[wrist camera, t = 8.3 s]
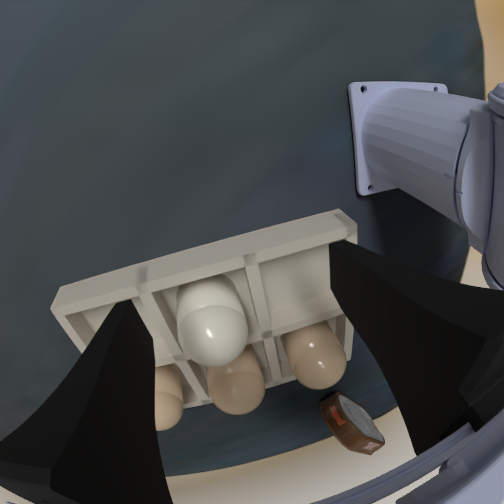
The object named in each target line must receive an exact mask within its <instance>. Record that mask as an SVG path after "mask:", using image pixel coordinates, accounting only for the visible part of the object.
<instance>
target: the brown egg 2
mask: <svg viewBox="0 0 504 504" xmlns="http://www.w3.org/2000/svg"><path fill="white" fill-rule="evenodd" d="M280 340H281V343H282V346H283V348H284V351H285V353H286V356H287V358H288V361H289V363H290V366H291V368H292V370H293V373H294V375H295V377H296V378H297V380H298V381H299V382H300V383H301V384H302V385H304V386H306V387H308V388H311V389H317V390H319V389H326V388H329V387H331V386H333V385H334V384H336V383H337V382H338V381H339V380H340V379H341V377H342V376H343V374H344V372H345V369H346V364H347V359H346V354H345V351H344V349H343V348H342V346H341V344H340V343H339V341H338V339H337V337H336V336H335V334H334V332H333V331H332V329H331V327H330V326H329V324H328V322H327V321H326V320H324V321H321V322H318V323H315V324H312V325H309V326H306V327H303V328H300V329H297V330H294V331H291V332H287V333H284V334H281V337H280Z"/></svg>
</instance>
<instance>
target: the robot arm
mask: <svg viewBox="0 0 504 504" xmlns="http://www.w3.org/2000/svg"><path fill="white" fill-rule="evenodd" d="M361 86H363V88H364V91H363V93H362V92H361V90H360V89H361ZM434 88H435V91H434ZM348 93H349V101H350V109H351V118H352V128H353V139H354V151H355V166H356V185H357V192H358V193H359V194H360V195H362V196H365V195H370V194H374V193H378V192H382V191H387V190H391V189H395V188H399V189H401V190H403V191H405V192H406V193H408V194H410V195H412V196H413V197H415V198H417V199H418V200H420V201H422V202H423V203H425V204H427V205H428V206H430V207H432V208H433V209H435V210H437V211H438V212H440V213H441V214H443V215H445V216H446V217H448V218H449V219H451V220H452V221H454V222H455V223H457V224H458V225H460V226H461V227H463V228H464V229H466V230H467V232H468V236H469V242H468V243H469V245H470V246H472V247H473V248H474V249H476V250H477V251H479V252H480V253H481V254H482V262H481V263H482V271H483V275H484V278H485V280H486V282H487V284H488V286H489V287H490V289H489V288H481V287H475V286H470V285H466V284H461V283H457V282H452V281H449V280H445V279H441V278H438V277H435V276H432V275H429V274H425V273H423V272H420V271H417V270H414V269H412V268H409V267H407V266H404V265H402V264H399V263H397V262H394V261H392V260H390V259H388V258H385V257H383V256H381V255H379V254H376V253H374V252H372V251H370V250H368V249H365V248H363V247H361V246H359V245H356V244H354V243H352V242H349V241H347V240H344V239H343V240H340V241H336V242H333V243H330V244H328V245H329V266H330V289H331V291H332V293H333V295H334V297H335V298H336V300H337V302H338V304H339V306H340V308H341V310H342V311H343V313H344V314H345V316H346V317H347V318H348V320H349V321H350V323H351V324H352V326H353V327H354V328H355V330H356V331H357V333H358V334H359V335H360V337H361V338H362V340H363V341H364V343H365V344H366V345H367V347H368V348H369V350H370V351H371V353H372V354H373V356H374V358H375V359H376V361H377V363H378V365H379V367H380V368H381V370H382V372H383V374H384V376H385V378H386V380H387V382H388V384H389V387H390V389H391V391H392V393H393V395H394V397H395V400H396V402H397V404H398V407H399V409H400V411H401V414H402V417H403V419H404V422H405V424H406V427H407V430H408V433H409V436H410V439H411V442H412V445H413V448H414V451H415V453H416V455H417V457H415V458H413V459H412V460H410V461H408V462H406V463H404V464H403V465H401V466H399V467H397V468H395V469H393V470H391V471H389V472H387V473H385V474H383V475H381V476H379V477H377V478H375V479H373V480H370V481H368V482H366V483H364V484H361V485H359V486H357V487H354V488H352V489H350V490H347V491H345V492H342V493H339V494H337V495H334V496H331V497H329V498H326V499H323V500H320V501H317V502H314V503H311V504H372V503H374V502H376V501H378V500H380V499H382V498H385V497H386V496H389V495H390V494H392V493H394V492H396V491H398V490H400V489H402V488H404V487H406V486H408V485H409V484H411V483H413V482H415V481H416V480H418V479H420V478H422V477H423V476H425V475H426V474H428V473H430V472H431V471H433V470H434V469H436V468H437V467H439V466H441V467H440V469H439V474H438V475H436V476H435V477H433V478H432V479H430V480H429V481H427V482H425V483H424V484H422V485H420V486H419V487H417V488H415V489H414V490H413V491H411V492H410V493H408V494H406V495H405V496H403V497H401V498H399V499H398V500H396V504H501V503H502V502H503V501H504V83H499V84H498V85H497V86H496V87H495V88H494V90H492V91H490V92H489V93H488V101H489V102H487V101H482V100H478V99H473V98H468V97H463V96H458V95H453V94H448V91H447V87H446V86H445V85H444V84H437V83H421V82H353V83H351V84H350V85H349V87H348ZM369 185H371V187H370V189H368V186H369ZM0 486H2V487H3V488H5V489H7V490H9V491H10V492H12V493H14V494H16V495H18V496H20V497H22V498H24V499H26V500H28V501H30V502H32V503H35V504H173V502H172V499H171V496H170V492H169V490H168V486H167V482H166V478H165V474H164V470H163V465H162V461H161V456H160V451H159V445H158V439H157V432H156V424H155V353H154V343H153V337H152V336H151V334H150V332H149V331H148V329H147V327H146V325H145V324H144V322H143V320H142V318H141V316H140V315H139V313H138V311H137V309H136V307H135V305H134V304H133V302H132V300H131V299H129V300H125V301H121V302H117V303H116V304H115V305H114V306H113V308H112V309H111V311H110V312H109V313H108V315H107V316H106V318H105V320H104V321H103V323H102V324H101V326H100V327H99V329H98V330H97V332H96V334H95V335H94V337H93V338H92V340H91V341H90V343H89V344H88V346H87V347H86V349H85V350H84V352H83V353H82V355H81V356H80V358H79V359H78V361H77V362H76V364H75V365H74V367H73V368H72V369H71V371H70V372H69V373H68V375H67V376H66V377H65V379H64V380H63V381H62V382H61V384H60V385H59V386H58V387H57V389H56V390H55V391H54V392H53V393H52V394H51V395H50V396H49V397H48V399H47V400H46V401H45V402H44V403H43V404H42V405H41V406H40V407H39V409H38V410H37V411H36V412H34V413H33V414H32V415H31V416H30V417H29V418H28V419H27V420H26V421H25V422H24V423H23V424H22V425H21V426H19V427H18V428H17V429H16V430H15V431H13V432H12V433H11V434H10V435H8V436H7V437H6V438H4V439H3V440H2V441H1V442H0ZM6 504H14V503H11V502H6Z"/></svg>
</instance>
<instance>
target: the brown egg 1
mask: <svg viewBox="0 0 504 504" xmlns="http://www.w3.org/2000/svg"><path fill="white" fill-rule="evenodd" d="M182 414H183V396H182V384H181V371H180V368H179V367H178V365H177V364H175V363H172V364H168V365H163V366H158V367H155V424H156V431H162V430H167V429H170V428H172V427H173V426H175V425H176V424H177V423H178V422H179V420H180V419H181V417H182Z"/></svg>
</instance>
